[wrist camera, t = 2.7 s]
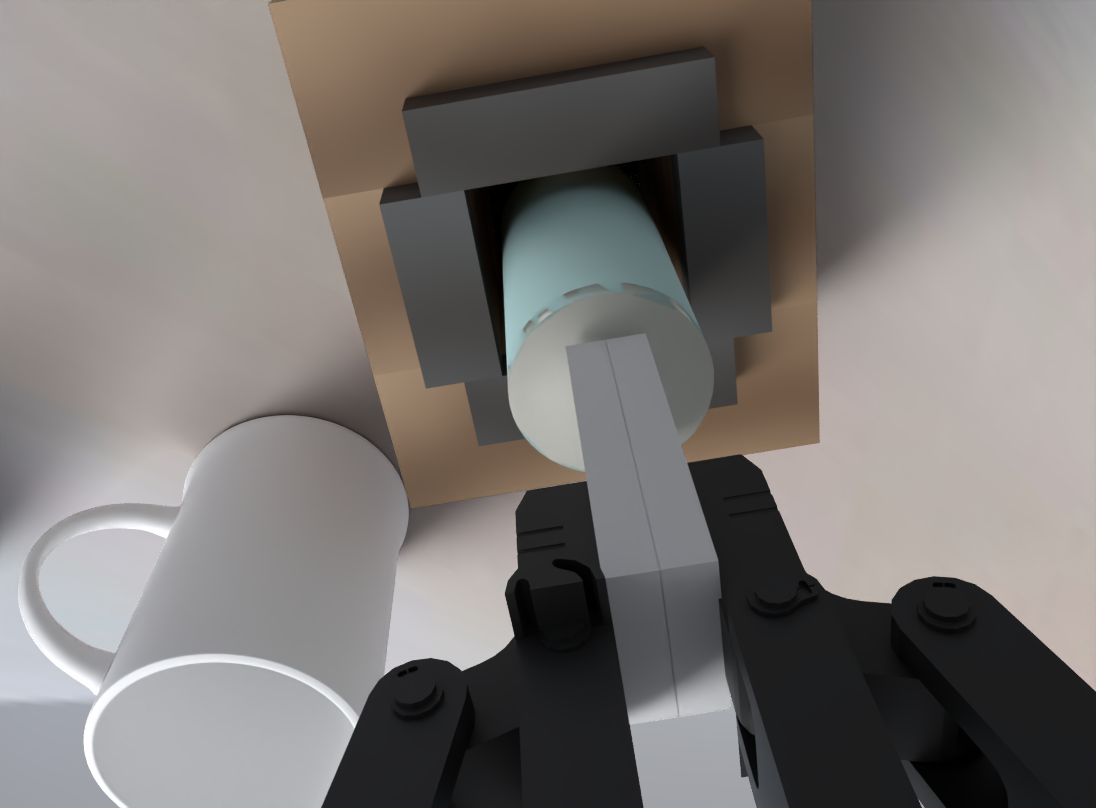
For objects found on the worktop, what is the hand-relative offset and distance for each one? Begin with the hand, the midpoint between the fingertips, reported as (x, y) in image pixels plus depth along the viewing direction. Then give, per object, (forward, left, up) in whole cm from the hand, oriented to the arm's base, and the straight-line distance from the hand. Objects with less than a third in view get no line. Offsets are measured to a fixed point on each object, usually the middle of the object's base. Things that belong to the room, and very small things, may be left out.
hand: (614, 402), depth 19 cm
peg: (0, 0, -9) cm, 9 cm away
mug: (+11, -13, -16) cm, 23 cm away
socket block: (0, 0, -15) cm, 15 cm away
